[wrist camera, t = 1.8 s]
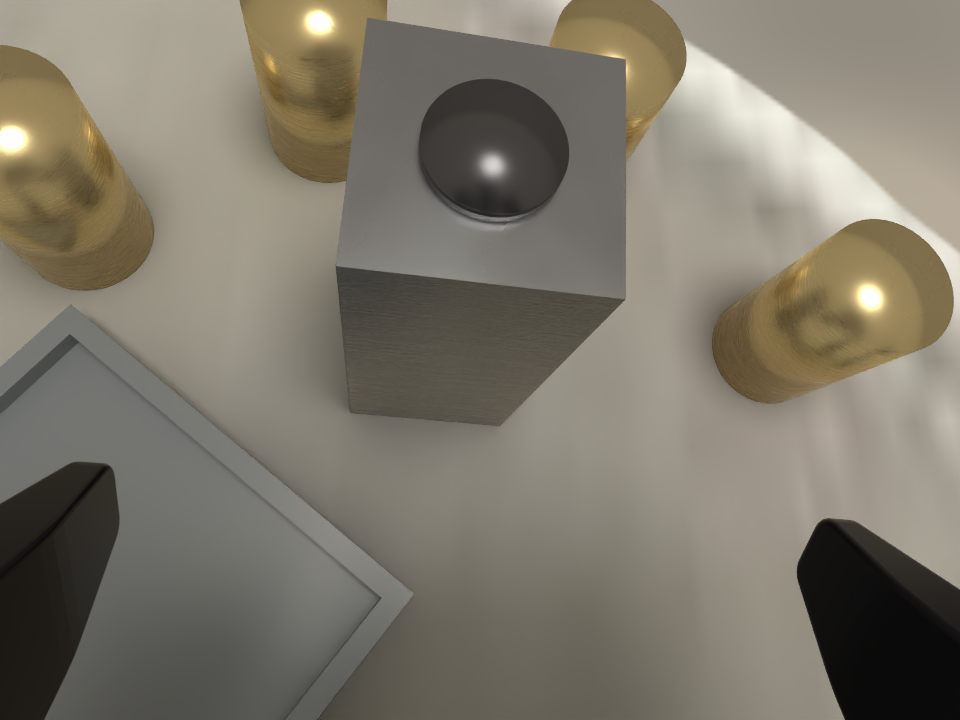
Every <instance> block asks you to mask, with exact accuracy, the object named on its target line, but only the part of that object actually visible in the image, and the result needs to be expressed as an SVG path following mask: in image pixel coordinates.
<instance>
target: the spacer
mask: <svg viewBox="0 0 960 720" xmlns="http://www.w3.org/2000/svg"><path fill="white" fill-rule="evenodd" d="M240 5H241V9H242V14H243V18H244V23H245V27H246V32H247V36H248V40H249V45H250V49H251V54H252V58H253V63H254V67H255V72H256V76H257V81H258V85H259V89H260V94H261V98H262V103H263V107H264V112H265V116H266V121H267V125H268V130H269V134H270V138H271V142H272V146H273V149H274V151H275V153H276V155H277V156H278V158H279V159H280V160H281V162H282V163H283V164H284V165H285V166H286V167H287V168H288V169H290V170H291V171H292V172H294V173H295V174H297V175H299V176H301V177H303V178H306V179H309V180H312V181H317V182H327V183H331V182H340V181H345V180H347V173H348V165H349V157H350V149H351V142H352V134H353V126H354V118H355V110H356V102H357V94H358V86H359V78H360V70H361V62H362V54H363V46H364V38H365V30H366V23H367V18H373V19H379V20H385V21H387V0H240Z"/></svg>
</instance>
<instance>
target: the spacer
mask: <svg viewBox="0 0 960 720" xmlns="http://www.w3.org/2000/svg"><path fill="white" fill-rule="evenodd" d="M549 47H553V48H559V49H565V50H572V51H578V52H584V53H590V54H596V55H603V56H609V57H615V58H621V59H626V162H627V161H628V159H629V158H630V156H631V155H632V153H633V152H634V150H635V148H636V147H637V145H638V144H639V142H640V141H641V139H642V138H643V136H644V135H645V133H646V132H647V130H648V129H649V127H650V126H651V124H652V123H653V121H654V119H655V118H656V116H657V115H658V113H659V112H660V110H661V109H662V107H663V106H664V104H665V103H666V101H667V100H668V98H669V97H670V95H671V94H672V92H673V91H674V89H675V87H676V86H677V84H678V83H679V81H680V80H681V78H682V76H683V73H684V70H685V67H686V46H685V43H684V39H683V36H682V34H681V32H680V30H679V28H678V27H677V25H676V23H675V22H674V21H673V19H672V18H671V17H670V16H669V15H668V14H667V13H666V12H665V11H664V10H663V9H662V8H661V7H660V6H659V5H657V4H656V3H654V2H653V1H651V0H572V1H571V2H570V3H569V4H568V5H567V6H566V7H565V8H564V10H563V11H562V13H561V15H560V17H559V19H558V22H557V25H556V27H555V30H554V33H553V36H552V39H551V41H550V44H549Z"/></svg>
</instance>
